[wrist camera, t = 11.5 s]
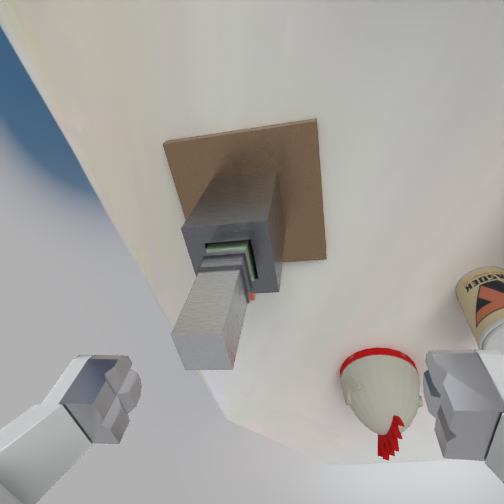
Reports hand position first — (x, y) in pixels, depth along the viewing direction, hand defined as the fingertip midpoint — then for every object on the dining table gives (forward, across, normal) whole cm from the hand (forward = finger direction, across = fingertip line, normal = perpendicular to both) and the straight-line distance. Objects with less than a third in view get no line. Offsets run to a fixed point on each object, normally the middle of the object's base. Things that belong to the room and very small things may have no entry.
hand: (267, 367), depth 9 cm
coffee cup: (+39, -25, +30) cm, 55 cm away
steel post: (+31, +8, +12) cm, 34 cm away
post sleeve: (+39, +8, +12) cm, 42 cm away
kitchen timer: (+39, -10, +50) cm, 64 cm away
